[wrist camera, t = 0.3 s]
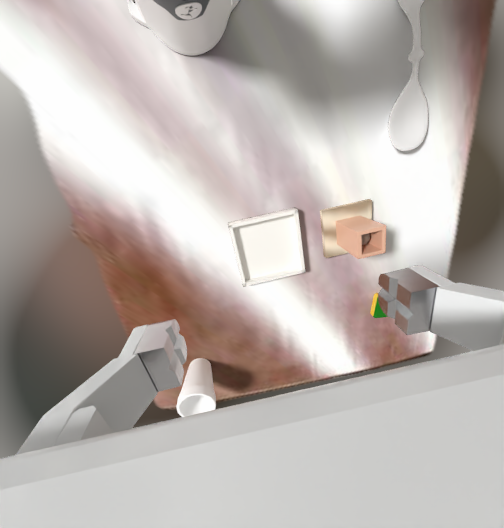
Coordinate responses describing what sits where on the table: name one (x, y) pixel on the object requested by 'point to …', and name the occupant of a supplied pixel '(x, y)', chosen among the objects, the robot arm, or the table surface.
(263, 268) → the tray
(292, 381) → the table surface
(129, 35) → the table surface
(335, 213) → the stand
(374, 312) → the dish sponge
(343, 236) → the sleeve
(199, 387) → the foam cup
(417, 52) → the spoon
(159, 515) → the robot arm
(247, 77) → the table surface
